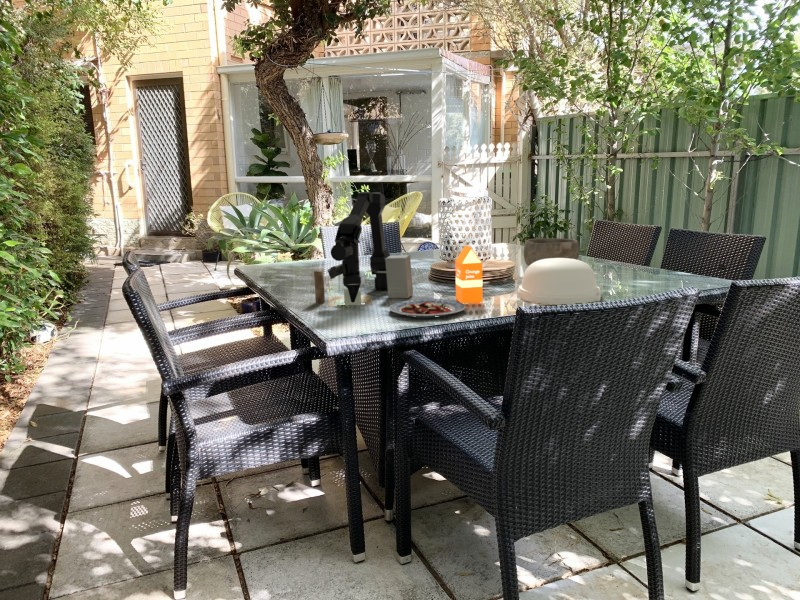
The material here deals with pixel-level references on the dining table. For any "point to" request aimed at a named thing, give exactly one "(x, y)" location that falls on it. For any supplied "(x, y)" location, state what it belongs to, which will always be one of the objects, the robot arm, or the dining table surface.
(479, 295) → the orange juice
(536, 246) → the bowl
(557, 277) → the dome cover
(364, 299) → the board
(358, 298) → the grey green block
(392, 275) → the skincare box
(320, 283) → the peg
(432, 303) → the ceramic plate
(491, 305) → the dining table surface
